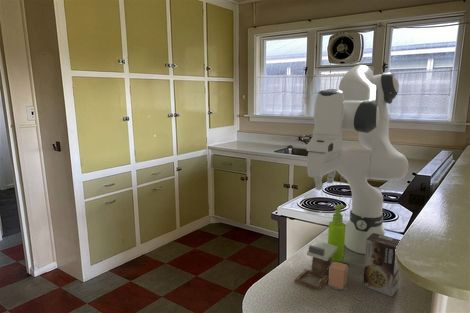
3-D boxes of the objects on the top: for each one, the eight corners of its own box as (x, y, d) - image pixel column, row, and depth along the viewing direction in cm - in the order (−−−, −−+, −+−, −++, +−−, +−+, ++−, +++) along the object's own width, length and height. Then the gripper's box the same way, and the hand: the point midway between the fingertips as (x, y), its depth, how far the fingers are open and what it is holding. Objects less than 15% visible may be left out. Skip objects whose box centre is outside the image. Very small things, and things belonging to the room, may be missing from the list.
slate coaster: (331, 278, 110) (331, 277, 110) (348, 284, 107) (348, 282, 107) (325, 286, 106) (325, 284, 106) (343, 292, 103) (343, 290, 103)
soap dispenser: (347, 256, 125) (351, 205, 121) (338, 263, 120) (341, 210, 117) (333, 251, 129) (336, 201, 126) (323, 257, 125) (326, 206, 121)
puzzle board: (316, 260, 123) (317, 245, 121) (337, 266, 118) (338, 251, 117) (294, 282, 108) (295, 265, 107) (318, 290, 104) (319, 273, 102)
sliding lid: (318, 244, 121) (318, 236, 120) (337, 249, 117) (338, 241, 116) (306, 255, 113) (307, 246, 112) (327, 261, 109) (327, 252, 108)
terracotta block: (346, 282, 107) (347, 264, 106) (342, 289, 104) (344, 271, 103) (332, 278, 110) (333, 261, 109) (328, 284, 106) (329, 267, 105)
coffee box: (398, 288, 105) (403, 240, 102) (391, 297, 100) (397, 247, 97) (369, 277, 111) (373, 231, 108) (361, 285, 106) (365, 238, 103)
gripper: (329, 138, 114) (327, 177, 116) (304, 145, 97) (302, 191, 100) (347, 139, 110) (345, 180, 113) (325, 147, 94) (322, 195, 96)
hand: (324, 185), depth 106 cm, fingers open, 8 cm apart
